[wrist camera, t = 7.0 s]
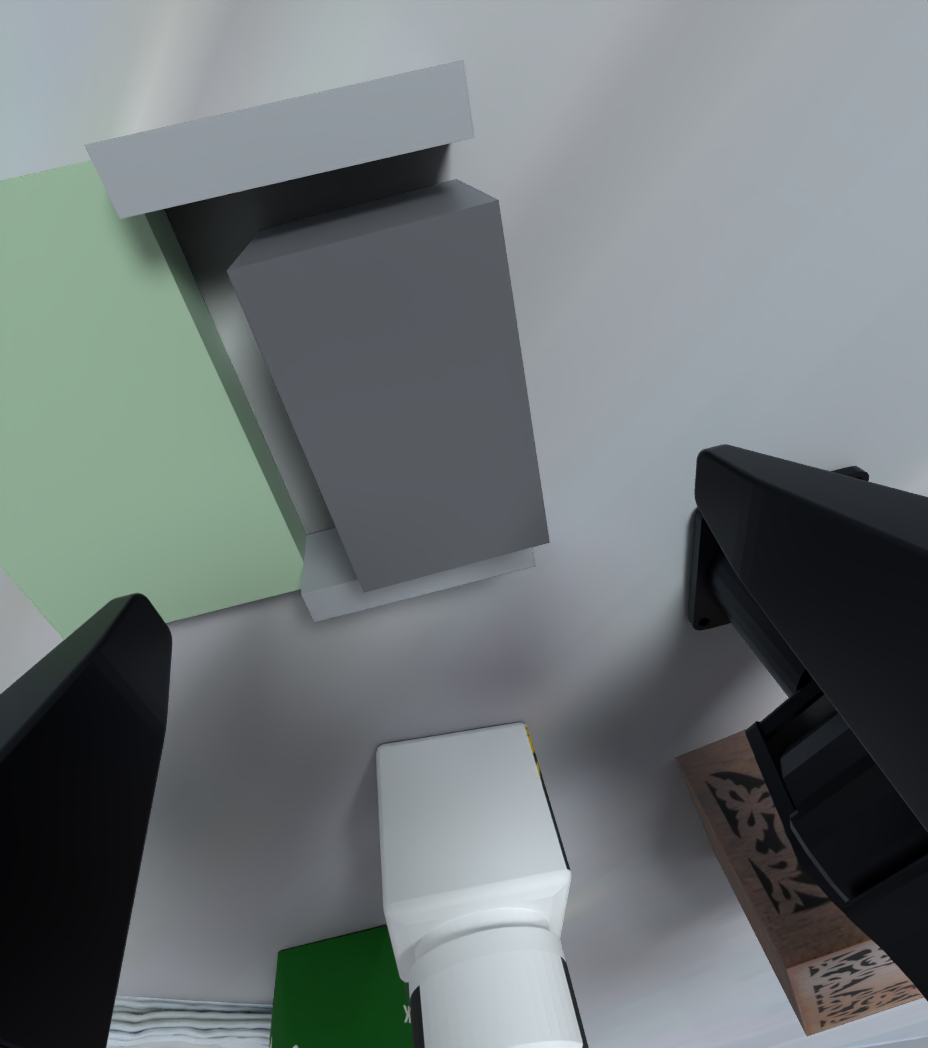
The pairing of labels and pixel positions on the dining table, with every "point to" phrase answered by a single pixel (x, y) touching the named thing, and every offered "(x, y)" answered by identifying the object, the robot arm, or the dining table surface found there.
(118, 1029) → the dish towel
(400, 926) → the medicine bottle
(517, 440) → the gray cuboid pillar
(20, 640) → the dining table surface
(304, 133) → the deck
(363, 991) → the milk carton
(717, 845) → the tissue box cover
